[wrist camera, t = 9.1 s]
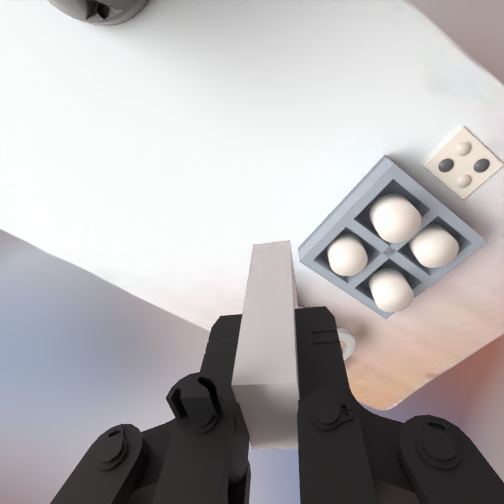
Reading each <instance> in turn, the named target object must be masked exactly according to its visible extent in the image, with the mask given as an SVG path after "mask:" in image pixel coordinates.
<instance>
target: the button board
mask: <svg viewBox="0 0 504 504" xmlns="http://www.w3.org/2000/svg"><path fill="white" fill-rule="evenodd" d="M391 193H396V194H400V195H402V196H404V197H405V198H406V199H407V200H408V201H409V202H410V203H411V204H412V205H413V206H414V207H415V208H416V209H417V210H418V211H419V213H420V215H421V226H420V228H419V230H418V231H417V233H419V232H420V231H421V230H422V229H423V228H424V227H425V226H427V225H428V224H429V223H430V222H435V223H438V224H440V225H441V226H442V227H443V228H444V229H445V230H446V231H447V232H448V233H449V234H450V235H451V236H452V237H453V238H454V239H455V240H456V241H457V242H458V245H459V250H458V253H457V255H456V257H455V258H454V259H453V260H452V261H451V262H450V263H448V264H446V265H444V266H442V267H438V268H428V267H425V266H423V265H422V264H421V263H420V262H419V261H418V259H417V258H416V257H415V255H414V254H413V252H412V251H411V250H410V248H409V247H408V244H407V242H408V241H409V240H411V239H412V238H413V237H414V236H415V235H416V234H417V233H416V234H415V235H414V236H413V237H411V238H410V239H408V240H406V241H403V242H399V243H391V242H387V241H385V240H384V239H382V238H381V237H380V235H379V234H378V232H377V230H376V229H375V227H374V225H373V224H372V222H371V220H370V216H369V213H370V209H371V206H372V205H373V203H374V202H375V201H376V200H377V199H378V198H380V197H381V196H383V195H386V194H391ZM341 232H350V233H353V234H355V235H356V236H358V238H359V239H360V241H361V243H362V245H363V247H364V250H365V252H366V254H367V257H368V261H367V264H366V266H365V268H364V269H363V270H362V271H361V272H359V273H358V274H355V275H352V276H342V275H339V274H337V273H335V272H334V271H333V270H332V268H331V266H330V262H329V258H328V254H327V250H326V247H327V245H328V244H329V243H330V242H331V241H332V240H333V239H334V238H335V237H336V236H337V235H338V234H339V233H341ZM487 242H488V241H487V240H485V239H484V238H483V237H482V236H481V235H479V234H478V233H477V232H476V231H475V230H473V229H472V228H471V227H470V226H469V225H467V224H466V223H465V222H464V221H463V220H461V219H460V218H459V217H458V216H457V215H455V214H454V213H453V212H452V211H451V210H450V209H448V208H447V207H446V206H445V205H444V204H442V203H441V202H440V201H439V200H438V199H436V198H435V197H434V196H433V195H432V194H430V193H429V192H428V191H427V190H426V189H424V188H423V187H422V186H421V185H420V184H418V183H417V182H416V181H415V180H414V179H412V178H411V177H410V176H409V175H408V174H406V173H405V172H404V171H403V170H402V169H400V168H399V167H398V166H397V165H396V164H394V163H393V162H392V161H391V160H390V159H388V158H387V157H386V156H385V155H384V156H383V158H382V159H381V160H380V161H379V162H378V163H377V164H376V165H375V166H374V167H373V168H372V169H371V170H370V172H369V173H368V174H367V175H366V176H365V177H364V178H363V179H362V180H361V181H360V182H359V183H358V184H357V186H356V187H355V188H354V189H353V190H352V191H351V192H350V193H349V194H348V195H347V196H346V197H345V198H344V199H343V201H342V202H341V203H340V204H339V205H338V206H337V207H336V208H335V209H334V210H333V211H332V212H331V213H330V215H329V216H328V217H327V218H326V219H325V220H324V221H323V222H322V223H321V224H320V225H319V226H318V227H317V229H316V230H315V231H314V232H313V233H312V234H311V235H310V236H309V237H308V238H307V239H306V240H305V241H304V243H303V244H302V245H301V246H300V247H299V248H298V251H299V261H300V262H301V263H302V264H304V265H305V266H307V267H308V268H310V269H311V270H313V271H315V272H316V273H318V274H319V275H321V276H322V277H324V278H325V279H327V280H328V281H330V282H331V283H333V284H334V285H336V286H337V287H339V288H340V289H342V290H343V291H345V292H346V293H348V294H349V295H351V296H352V297H354V298H355V299H357V300H358V301H360V302H361V303H363V304H364V305H366V306H367V307H369V308H370V309H372V310H373V311H375V312H376V313H378V314H379V315H381V316H382V317H384V318H385V319H387V318H388V317H390V316H391V315H392V314H394V313H395V312H386V311H383V310H381V309H380V308H378V306H377V305H376V303H375V300H374V298H373V295H372V293H371V290H370V288H369V279H370V277H371V276H372V274H373V273H375V272H376V271H378V270H380V269H383V268H395V269H397V270H399V271H400V272H401V273H402V274H403V276H404V277H405V279H406V281H407V282H408V284H409V286H410V288H411V289H412V291H413V294H414V297H413V298H415V297H416V296H417V295H419V294H420V293H421V292H423V291H424V290H425V289H427V288H428V287H429V286H431V285H432V284H433V283H434V282H436V281H437V280H438V279H440V278H441V277H442V276H444V275H445V274H446V273H448V272H449V271H450V270H452V269H453V268H454V267H456V266H457V265H458V264H460V263H461V262H462V261H464V260H465V259H466V258H468V257H469V256H470V255H471V254H473V253H474V252H475V251H477V250H478V249H479V248H481V247H482V246H483V245H485V244H486V243H487Z"/></svg>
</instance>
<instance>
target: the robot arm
mask: <svg viewBox="0 0 504 504" xmlns="http://www.w3.org/2000/svg"><path fill="white" fill-rule="evenodd" d="M48 1H49V2H50V3H51V4H52V5H53V6H55V7H56V8H57V9H59V10H60V11H62V12H64V13H65V14H67V15H69V16H71V17H73V18H75V19H77V20H80V21H83V22H87V23H91V24H96V25H104V26H109V25H116V24H120V23H123V22H125V21H127V20H129V19H131V18H132V17H134V16H135V15H136V14H137V13H138V12H139V11H140V10H141V9H142V8H143V7H144V5H145V4H146V3H147V1H148V0H48ZM208 341H209V342H208V343H207V347H206V353H205V355H204V358H203V362H202V366H201V370H200V372H198V373H193V374H189V375H188V376H186V377H184V378H182V379H180V380H179V381H178V382H177V383H176V384H175V385H174V386H173V387H172V388H171V390H170V391H169V393H168V395H167V397H166V400H167V402H168V404H169V405H170V408H171V409H172V411H173V413H174V415H175V417H176V418H175V419H173V420H171V421H169V422H167V423H165V424H162V425H159V426H157V427H154V428H151V429H148V430H146V431H143V432H140V430H139V429H138V428H137V427H135V426H133V425H132V424H121V425H118V426H115V427H112V428H110V429H109V430H107V431H106V432H105V433H103V434H102V435H100V436H99V437H98V439H97V440H96V441H95V442H94V443H93V444H92V445H91V447H90V448H89V449H88V451H87V452H86V454H85V455H84V457H83V458H82V459H81V461H80V462H79V464H78V465H77V466H76V468H75V469H74V471H73V472H72V474H71V475H70V476H69V478H68V479H67V481H66V482H65V483H64V485H63V486H62V488H61V489H60V490H59V492H58V493H57V495H56V496H55V497H54V499H53V500H52V502H51V503H50V504H249V494H250V479H251V471H250V464H249V461H248V450H249V441H250V443H251V447H252V449H298V454H299V476H300V500H301V504H504V483H503V481H502V480H501V479H500V477H499V476H498V475H497V473H496V472H495V471H494V470H493V468H492V467H491V466H490V465H489V463H488V462H487V460H486V459H485V458H484V457H483V455H482V454H481V453H480V451H479V450H478V449H477V447H476V446H475V445H474V444H473V442H472V441H471V440H470V439H469V438H468V437H467V436H466V435H465V434H464V433H463V432H462V431H461V430H460V429H459V428H458V427H457V426H455V425H453V424H452V423H450V422H448V421H447V420H445V419H442V418H438V417H435V416H431V415H421V416H415V417H413V418H411V419H409V420H407V421H406V422H405V423H401V422H398V421H395V420H391V419H388V418H384V417H381V416H378V415H376V414H373V413H371V412H369V411H368V410H367V409H365V408H364V407H363V406H361V405H360V404H359V403H358V402H357V400H356V399H355V397H354V396H353V394H352V392H351V390H350V387H349V383H348V378H347V373H346V369H345V364H344V359H343V355H342V350H341V345H340V341H339V336H338V332H337V327H336V322H335V317H334V316H333V315H332V313H331V312H330V311H329V310H328V309H327V308H326V306H324V307H312V308H300V309H298V302H297V290H296V283H295V275H294V268H293V261H292V253H291V246H290V240H289V241H281V242H273V243H264V244H256V245H253V250H252V257H251V263H250V269H249V276H248V282H247V289H246V295H245V301H244V308H243V314H239V315H226V316H220V317H219V319H218V320H217V321H216V323H215V324H214V325H213V326H212V328H211V332H210V336H209V340H208Z"/></svg>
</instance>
